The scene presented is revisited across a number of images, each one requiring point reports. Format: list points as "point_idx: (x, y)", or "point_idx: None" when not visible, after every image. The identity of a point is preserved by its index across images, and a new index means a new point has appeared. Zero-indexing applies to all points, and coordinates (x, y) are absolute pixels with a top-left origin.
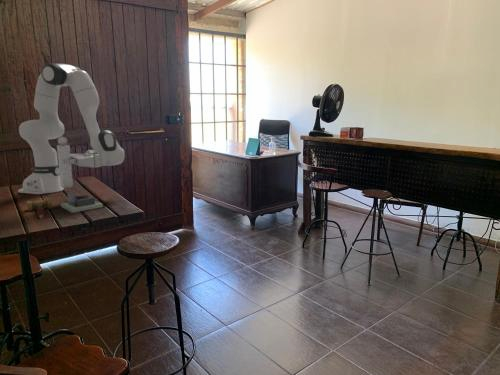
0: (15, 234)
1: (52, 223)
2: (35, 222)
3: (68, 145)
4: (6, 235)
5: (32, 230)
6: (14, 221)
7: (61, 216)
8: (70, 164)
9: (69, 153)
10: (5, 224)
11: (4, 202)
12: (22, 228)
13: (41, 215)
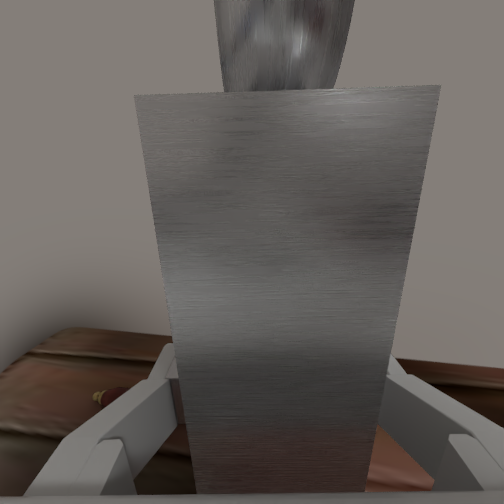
0: (54, 337)
1: (9, 414)
2: (85, 380)
3: (155, 102)
4: (70, 328)
5: (31, 363)
6: (153, 348)
7: (36, 469)
8: (201, 477)
9: (175, 310)
10: (148, 335)
11: (401, 358)
12: (75, 351)
13: (100, 394)
